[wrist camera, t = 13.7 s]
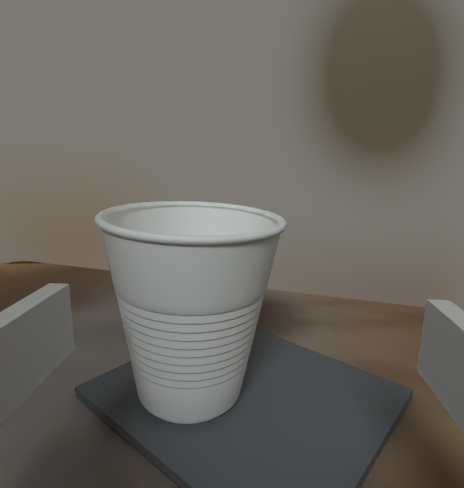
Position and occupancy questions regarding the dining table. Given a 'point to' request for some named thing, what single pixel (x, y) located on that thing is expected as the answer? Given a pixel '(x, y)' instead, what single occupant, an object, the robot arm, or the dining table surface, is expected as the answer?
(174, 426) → the mat
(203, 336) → the cup
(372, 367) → the dining table surface
